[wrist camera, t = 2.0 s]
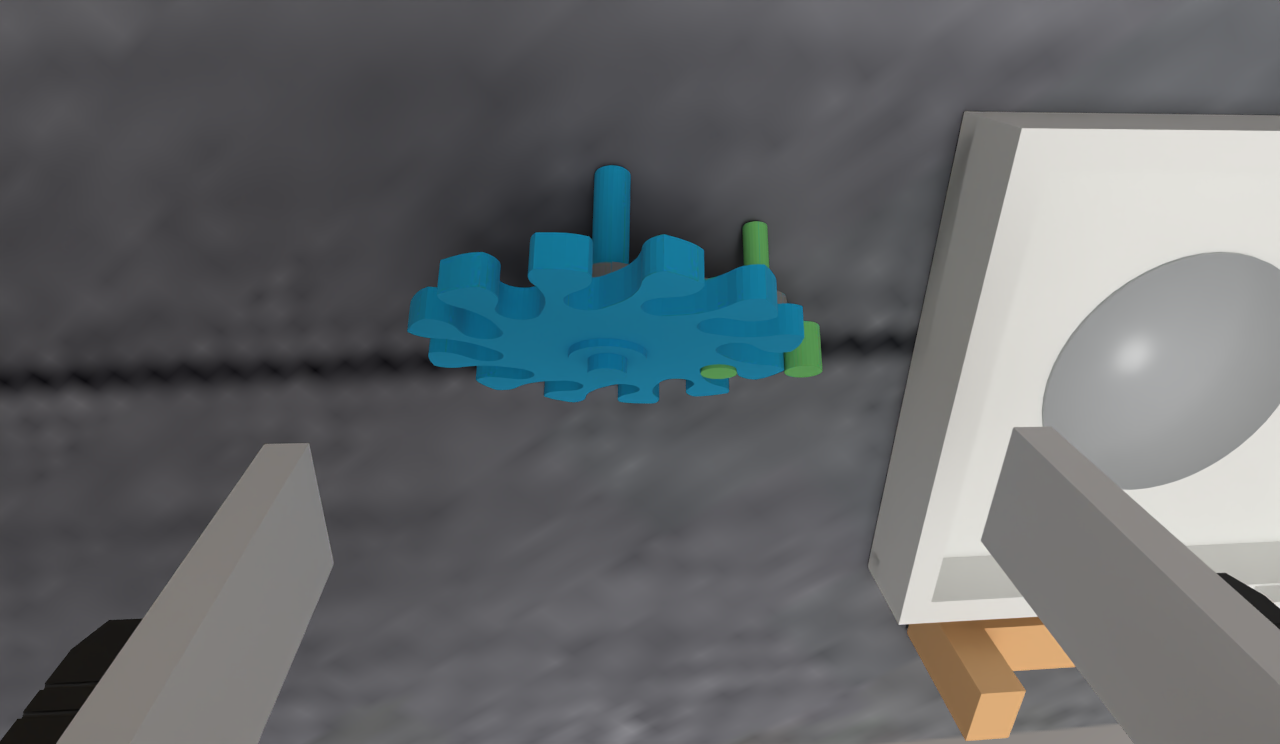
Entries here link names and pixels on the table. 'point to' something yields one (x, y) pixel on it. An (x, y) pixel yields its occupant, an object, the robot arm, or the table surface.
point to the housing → (1094, 344)
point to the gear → (615, 313)
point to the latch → (985, 668)
